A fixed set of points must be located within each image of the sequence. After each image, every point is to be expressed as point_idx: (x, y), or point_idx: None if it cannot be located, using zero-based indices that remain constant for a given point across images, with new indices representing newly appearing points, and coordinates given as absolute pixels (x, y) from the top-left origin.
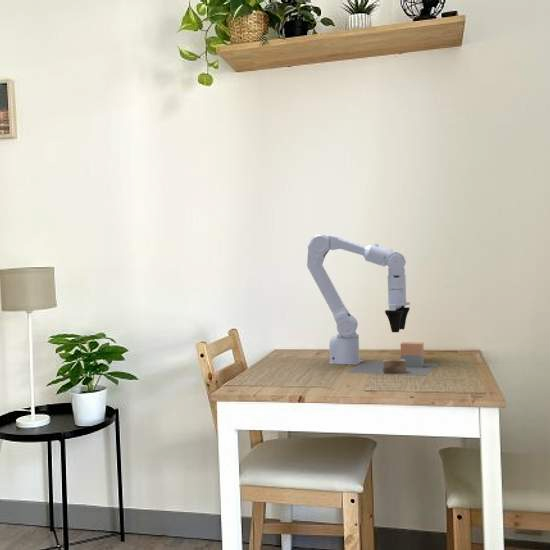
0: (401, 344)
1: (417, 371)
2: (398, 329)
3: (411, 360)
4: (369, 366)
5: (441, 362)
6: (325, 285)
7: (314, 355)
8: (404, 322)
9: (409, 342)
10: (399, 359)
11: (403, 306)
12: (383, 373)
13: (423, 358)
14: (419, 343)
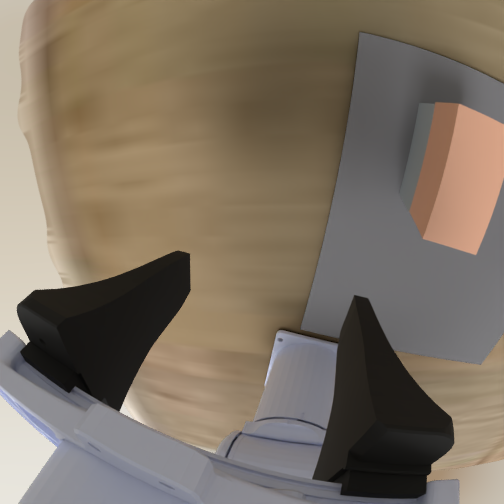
0: (476, 247)
1: None
2: (373, 311)
3: None
4: (414, 317)
5: (267, 24)
6: None
7: (194, 405)
8: (158, 275)
9: (442, 197)
10: None
11: (44, 365)
12: None
13: (429, 103)
14: (490, 136)
